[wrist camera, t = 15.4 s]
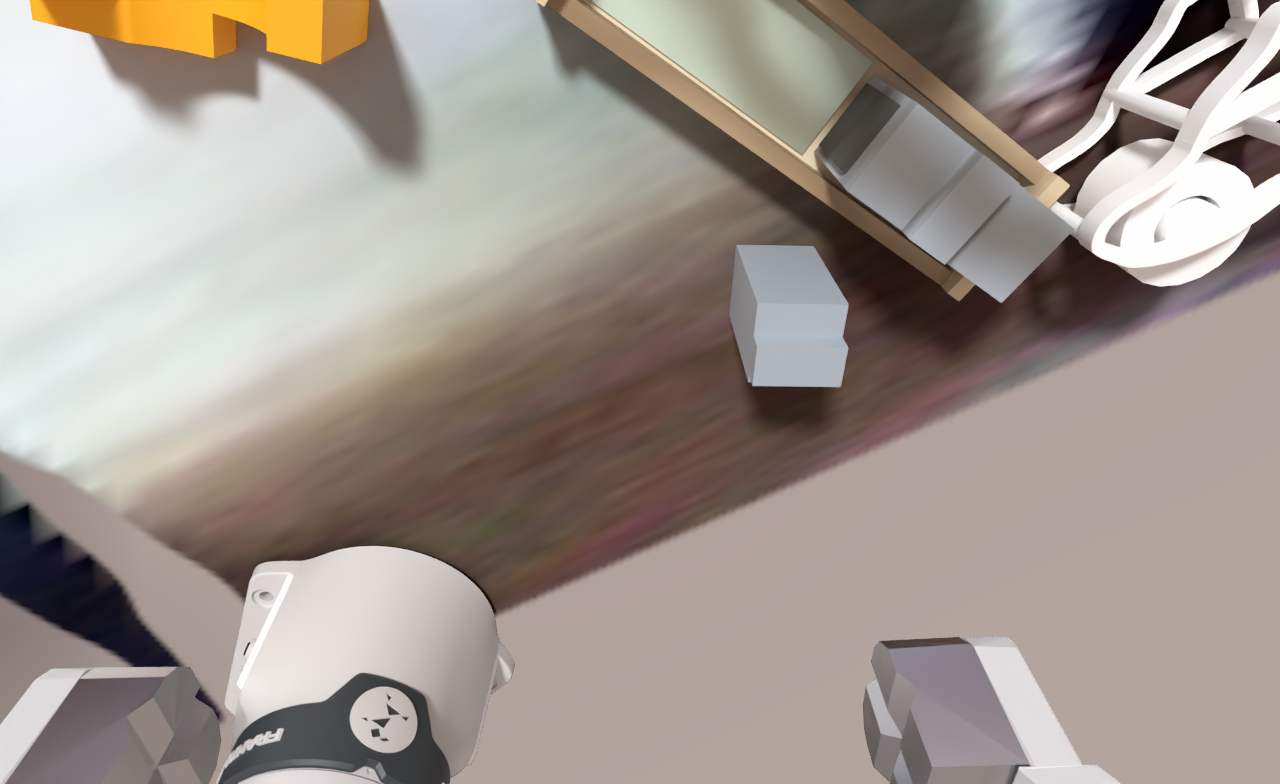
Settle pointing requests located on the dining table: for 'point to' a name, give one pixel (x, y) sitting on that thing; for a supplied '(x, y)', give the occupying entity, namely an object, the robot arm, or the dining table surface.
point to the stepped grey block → (787, 317)
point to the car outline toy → (1178, 154)
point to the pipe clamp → (217, 23)
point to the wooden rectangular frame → (848, 127)
